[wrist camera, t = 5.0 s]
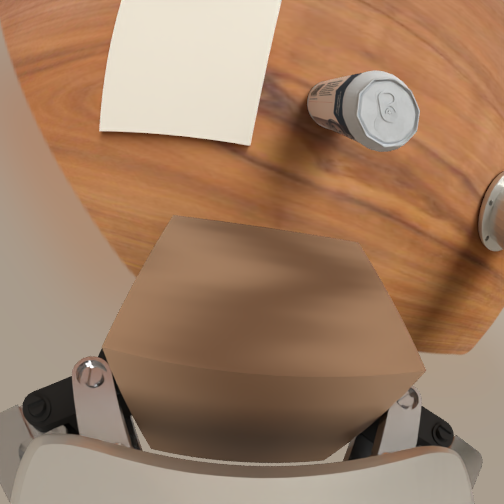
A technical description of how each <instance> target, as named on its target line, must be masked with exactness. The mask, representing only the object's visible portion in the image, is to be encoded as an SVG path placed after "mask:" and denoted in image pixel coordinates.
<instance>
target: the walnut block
mask: <svg viewBox="0 0 504 504" xmlns="http://www.w3.org/2000/svg"><path fill="white" fill-rule="evenodd" d="M102 349H103V351H104V354H105V356H106V359H107V361H108V364H109V366H110V369H111V371H112V373H113V376H114V378H115V380H116V383H117V385H118V387H119V389H120V391H121V393H122V396H123V398H124V400H125V402H126V404H127V406H128V408H129V410H130V412H131V414H132V416H133V418H134V419H135V421H136V423H137V425H138V427H139V429H140V430H141V432H142V434H143V436H144V437H145V439H146V441H147V442H148V444H149V446H150V448H151V449H154V450H159V451H163V452H168V453H173V454H179V455H185V456H191V457H198V458H206V459H214V460H223V461H237V462H256V463H257V462H259V463H284V462H285V463H290V462H309V461H321V460H325V459H326V458H328V457H329V456H331V455H332V454H333V453H335V452H336V451H338V450H339V449H340V448H342V447H343V446H345V445H346V444H347V443H349V442H350V441H351V440H352V439H354V438H355V437H356V436H358V435H359V434H360V433H361V432H363V431H364V430H365V429H366V428H367V427H369V426H370V425H371V424H372V423H373V422H375V421H376V420H377V419H378V418H379V417H380V416H381V415H383V414H384V413H385V412H386V411H387V410H388V409H389V408H390V407H391V406H392V405H393V404H394V403H395V402H397V401H398V400H399V399H400V398H401V397H402V396H403V395H404V394H405V393H406V392H407V391H408V390H409V389H410V388H411V387H412V386H413V384H414V383H415V382H416V381H417V380H418V379H419V378H420V377H421V376H422V375H423V374H424V373H425V371H426V369H425V367H424V364H423V362H422V360H421V358H420V355H419V353H418V351H417V349H416V347H415V345H414V343H413V341H412V338H411V336H410V334H409V332H408V330H407V328H406V326H405V324H404V322H403V320H402V318H401V316H400V314H399V313H398V311H397V309H396V307H395V305H394V303H393V301H392V299H391V297H390V296H389V294H388V292H387V290H386V288H385V287H384V285H383V283H382V281H381V279H380V278H379V276H378V274H377V273H376V271H375V269H374V267H373V266H372V264H371V262H370V261H369V259H368V257H367V256H366V254H365V252H364V251H363V249H362V247H361V246H360V244H359V243H358V242H353V241H347V240H341V239H335V238H329V237H323V236H317V235H311V234H304V233H298V232H292V231H285V230H278V229H272V228H265V227H258V226H251V225H244V224H237V223H230V222H223V221H215V220H208V219H200V218H192V217H184V216H176V215H173V217H172V218H171V220H170V221H169V223H168V225H167V226H166V228H165V230H164V231H163V233H162V234H161V236H160V238H159V239H158V241H157V243H156V245H155V246H154V248H153V250H152V251H151V253H150V255H149V257H148V258H147V260H146V262H145V264H144V265H143V267H142V269H141V271H140V272H139V274H138V276H137V278H136V280H135V282H134V283H133V285H132V287H131V289H130V291H129V293H128V295H127V297H126V299H125V300H124V303H123V304H122V306H121V308H120V310H119V312H118V314H117V316H116V318H115V321H114V322H113V324H112V326H111V329H110V331H109V333H108V335H107V337H106V339H105V341H104V343H103V345H102Z"/></svg>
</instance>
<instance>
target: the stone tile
mask: <svg viewBox="0 0 504 504" xmlns="http://www.w3.org/2000/svg"><path fill="white" fill-rule="evenodd" d="M281 1H282V0H122V1H121V4H120V8H119V11H118V15H117V19H116V23H115V27H114V31H113V35H112V40H111V45H110V50H109V55H108V60H107V66H106V73H105V79H104V87H103V95H102V104H101V116H100V130H99V131H117V132H138V133H153V134H166V135H176V136H186V137H194V138H202V139H210V140H217V141H224V142H230V143H237V144H243V145H248V146H250V144H251V139H252V134H253V129H254V124H255V119H256V114H257V109H258V104H259V100H260V95H261V90H262V85H263V80H264V76H265V71H266V67H267V62H268V57H269V53H270V48H271V44H272V39H273V35H274V31H275V26H276V22H277V18H278V13H279V9H280V5H281Z"/></svg>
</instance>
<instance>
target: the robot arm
mask: <svg viewBox="0 0 504 504" xmlns="http://www.w3.org/2000/svg"><path fill="white" fill-rule="evenodd" d="M478 228H479V236H480V239H481V241H482V243H483V244H484V245H485V246H486V247H487V248H488V249H489V250H491V251H500V250H502V249H503V250H504V171H503V172H502V173H500V174H499V175H498V176H497V177H496V178H495V179H494V180H493V182H492V183H491V185H490V186H489V188H488V190H487V192H486V194H485V197H484V199H483V202H482V205H481V209H480V214H479V223H478ZM421 405H422V398H421V395H420V393H419V391H418V390H417V389H416V388H415V387H414V386H412V387H411V388H410V389H409V390H408V391H407V392H406V393H405V394H404V395H403V396H402V397H401V398H400V399H399V400H398V401H397V402H395V403H394V404H393V405H392V406H391V407H390V408H389V409H388V410H387V411H386V412H385V413H384V414H383V415H381V416H380V417H379V418H378V419H377V420H376V421H375V422H373V423H372V424H371V425H370V426H369V427H367V428H366V429H365V430H364V431H363V432H361V433H360V434H359V435H358V436H356V437H355V438H354V439H352V440H351V441H350V443H349V446H348V449H347V451H346V454H345V457H344V459H343V461H342V462H334V463H326V464H314V465H300V466H241V465H227V464H216V463H207V462H198V461H192V460H185V459H178V458H173V457H168V456H163V455H158V454H153V453H149V452H144V451H142V448H141V445H140V442H139V439H138V436H137V433H136V429H135V426H134V423H133V420H132V414H131V412H130V410H129V408H128V406H127V404H126V402H125V400H124V398H123V396H122V393H121V391H120V389H119V387H118V385H117V383H116V380H115V378H114V376H113V373H112V371H111V369H110V366H109V364H108V361H107V359H106V356H105V354H104V351H103V349H101V352H100V354H99V356H98V357H86V358H83V359H81V360H80V361H78V362H77V363H76V365H75V366H74V368H73V370H72V376H71V377H68V378H66V379H64V380H61V381H59V382H56V383H54V384H51V385H49V386H47V387H44V388H41V389H39V390H36V391H34V392H32V393H30V394H28V396H27V397H26V398H25V400H24V402H23V405H22V406H20V407H19V406H18V405H15V406H13V407H11V408H9V409H7V410H5V411H3V412H1V413H0V484H1V486H2V488H3V490H4V492H5V494H6V496H7V498H8V500H9V502H10V504H475V503H474V497H473V492H472V489H473V487H474V484H475V482H476V479H477V477H478V475H479V472H480V469H481V467H482V456H481V454H480V453H479V452H478V451H477V450H476V449H474V448H473V447H472V446H470V445H469V444H468V443H466V442H465V441H464V440H462V439H461V438H460V437H458V436H457V435H456V436H454V435H453V430H452V428H451V426H450V425H449V424H448V423H447V422H446V421H444V420H443V419H441V418H440V417H438V416H437V415H435V414H433V413H432V412H430V411H429V410H427V409H425V408H424V407H423V406H421Z"/></svg>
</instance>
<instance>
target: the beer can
mask: <svg viewBox="0 0 504 504" xmlns="http://www.w3.org/2000/svg"><path fill="white" fill-rule="evenodd" d="M307 107H308V111H309V113H310V115H311V117H312V119H313V120H314V121H315V122H316V123H317V124H318V125H320V126H322V127H324V128H327V129H330V130H333V131H335V132H337V133H339V134H342V135H344V136H346V137H348V138H351V139H353V140H355V141H357V142H359V143H361V144H362V145H364V146H365V147H367V148H369V149H372V150H375V151H381V152H382V151H391V150H395V149H398V148H400V147H401V146H403V145H404V144H405V143H406V142H407V141H408V140H409V139H410V138H411V137H412V136H413V135H414V134H415V133H416V132H417V128H418V121H419V114H420V110H419V108H418V105H417V103H416V100H415V98H414V96H413V93H412V91H411V90H410V89H409V88H408V87H407V86H406V85H405V84H404V83H403V82H402V81H401V80H400V79H398V78H397V77H395V76H394V75H392V74H389V73H386V72H384V71H368V72H364V73H360V74H355V75H350V76H345V77H341V78H336V79H332V80H328V81H323V82H320V83H318V84H317V85H315V86H314V87H313V88H312V90H311V91H310V93H309V95H308V99H307Z"/></svg>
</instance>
